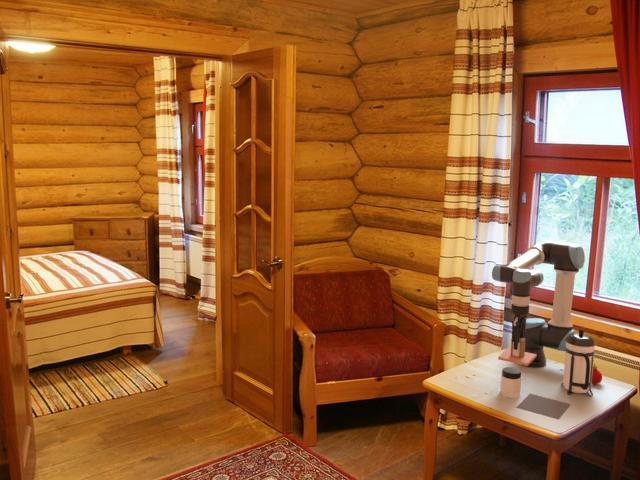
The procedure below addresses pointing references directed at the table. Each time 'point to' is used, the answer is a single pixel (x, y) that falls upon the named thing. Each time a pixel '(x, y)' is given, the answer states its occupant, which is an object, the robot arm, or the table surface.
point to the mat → (544, 406)
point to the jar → (510, 382)
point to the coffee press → (579, 363)
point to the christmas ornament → (596, 375)
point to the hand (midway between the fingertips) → (517, 354)
